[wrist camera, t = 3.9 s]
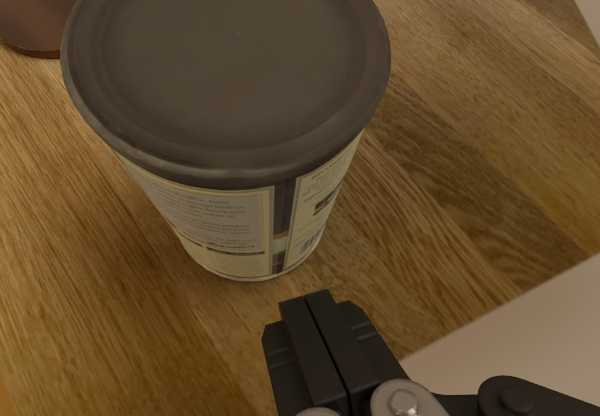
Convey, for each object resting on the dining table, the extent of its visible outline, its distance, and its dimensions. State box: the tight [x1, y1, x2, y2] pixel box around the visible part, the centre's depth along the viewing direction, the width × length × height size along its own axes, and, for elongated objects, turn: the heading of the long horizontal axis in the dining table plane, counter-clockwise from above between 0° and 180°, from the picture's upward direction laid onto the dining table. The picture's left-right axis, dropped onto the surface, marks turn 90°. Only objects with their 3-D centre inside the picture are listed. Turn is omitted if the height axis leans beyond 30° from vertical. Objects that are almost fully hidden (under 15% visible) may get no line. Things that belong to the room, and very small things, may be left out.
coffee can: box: [60, 0, 391, 282], centre depth 18 cm, size 10×10×14 cm
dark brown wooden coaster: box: [0, 0, 78, 59], centre depth 29 cm, size 10×10×1 cm
